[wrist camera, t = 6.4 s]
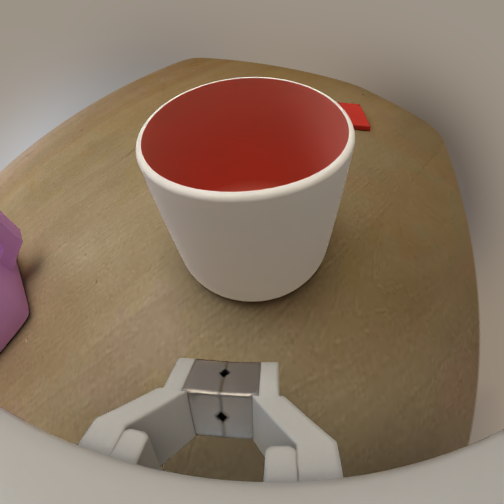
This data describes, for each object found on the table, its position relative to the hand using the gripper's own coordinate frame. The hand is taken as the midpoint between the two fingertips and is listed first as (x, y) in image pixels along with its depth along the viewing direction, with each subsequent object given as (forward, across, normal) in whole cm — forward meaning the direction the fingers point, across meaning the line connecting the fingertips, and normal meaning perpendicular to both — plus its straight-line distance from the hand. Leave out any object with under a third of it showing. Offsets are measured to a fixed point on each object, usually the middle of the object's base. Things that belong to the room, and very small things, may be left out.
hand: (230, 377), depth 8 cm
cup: (+13, 0, -2) cm, 13 cm away
